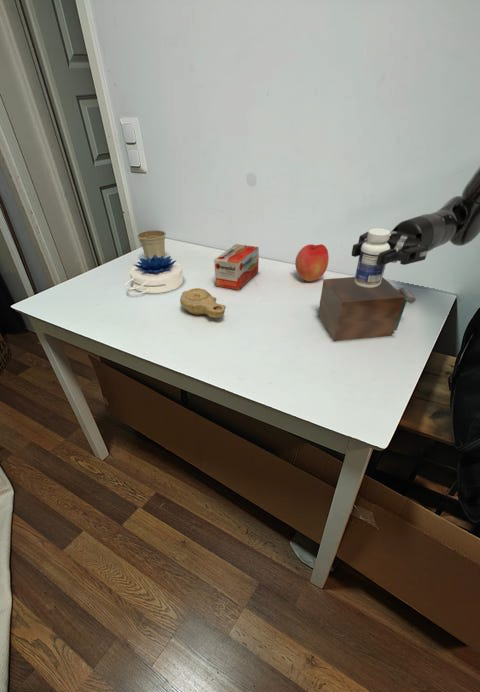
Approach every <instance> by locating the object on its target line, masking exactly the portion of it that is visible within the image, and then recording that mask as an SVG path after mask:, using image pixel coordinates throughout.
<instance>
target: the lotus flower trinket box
mask: <svg viewBox="0 0 480 692" xmlns="http://www.w3.org/2000/svg"><path fill="white" fill-rule="evenodd" d="M146 259H147V260H146ZM183 274H184V273H183V267H182V265H181V264H180V263H178V262H177V260H173V258H172V257H171V255H169V256H167V257H165V259H164V258H163V256H161V257H159V258H158V257H157V256H156V255H154V256H153V258H152V259H150V258H148V257H147V258H146V257H145V258H143V257H141V258H139V261H136V264H133V266H132V267H131V268H130V269H129V276H130V279H129V280H128V281H126V282H125V284H124V288H126V290H125V292H126V293H127V294H129V295H142V294H162V293H168V292H172V291H174V290H176V289H178V288H180V287H181V286H182V284H183V283H184V275H183ZM129 283H132V286H131V287H129V286H127V285H128V284H129ZM129 290H136V291H138V292H131V291H130V292H129Z"/></svg>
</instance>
